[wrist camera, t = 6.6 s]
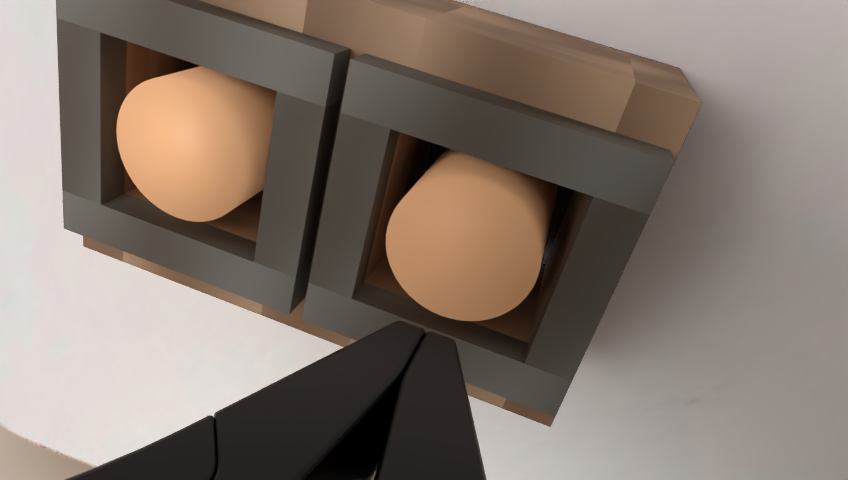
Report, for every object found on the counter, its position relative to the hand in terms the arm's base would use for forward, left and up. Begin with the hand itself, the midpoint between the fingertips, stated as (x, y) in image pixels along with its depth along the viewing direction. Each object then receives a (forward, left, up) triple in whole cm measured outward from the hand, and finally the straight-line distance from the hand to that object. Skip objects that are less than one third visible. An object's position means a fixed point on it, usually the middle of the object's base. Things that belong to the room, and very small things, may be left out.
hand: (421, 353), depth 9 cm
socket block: (+4, +2, -13) cm, 14 cm away
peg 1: (+8, +2, -13) cm, 15 cm away
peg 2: (0, +2, -13) cm, 13 cm away
